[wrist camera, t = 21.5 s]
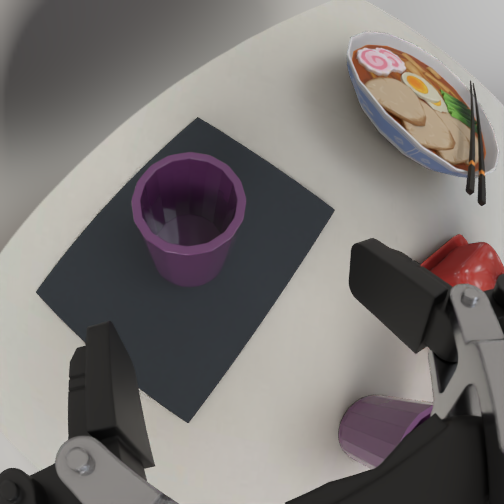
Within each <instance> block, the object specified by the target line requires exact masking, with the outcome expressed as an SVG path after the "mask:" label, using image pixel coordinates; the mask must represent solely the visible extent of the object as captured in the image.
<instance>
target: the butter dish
mask: <svg viewBox="0 0 504 504" xmlns="http://www.w3.org/2000/svg"><path fill="white" fill-rule="evenodd" d="M420 265H421V267H422V266H423V267H425V268H426V269H428V270H429V271H431V272H432V273H434V274H435V275H436V276H438V277H439V278H441V279H442V280H444V281H445V282H447V283H448V284H449V285H451V286H452V287H453V286H455V285H457V284H471V285H474V286H476V287H478V288H480V289H481V290H482V291H486V290H490V289H494V286H495V284H496V281H497V278H498V276H499V275H501V274H504V266H503V264H502V262H501V260H500V258H499V256H498V255H497V253H496V252H495V250H494V249H493V248H492V247H491V246H490V245H489V244H488V243H485V242H478V243H472V244H468V242H467V241H466V239H465V238H464V237H463V236H462V235H460V234H457V235H456V236H454V237H453V238H451V239H450V240H449V241H448V242H446V243H445V244H444V245H443V246H442V247H441V248H439V249H438V250H437V251H436V252H435V253H433V254H432V255H431V256H430V257H429V258H428V259H426V260H425V261H424V262H423V263H422V264H420Z"/></svg>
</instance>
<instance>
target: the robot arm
mask: <svg viewBox="0 0 504 504" xmlns="http://www.w3.org/2000/svg"><path fill="white" fill-rule="evenodd" d="M349 287H350V290H351V292H352V294H353V296H354V297H355V298H356V299H357V300H358V301H359V302H360V303H361V304H362V305H364V306H365V307H366V308H367V309H368V310H369V311H370V312H371V313H372V314H373V315H374V316H376V317H377V318H378V319H379V320H380V321H381V322H382V323H383V324H384V325H385V326H386V327H387V328H389V329H390V330H391V331H392V332H393V333H394V334H395V335H396V336H397V337H398V338H399V339H400V340H401V341H402V342H404V343H405V344H406V345H407V346H408V347H409V348H410V349H411V350H412V351H413V352H414V353H415V354H416V353H418V352H419V351H421V350H422V349H424V348H425V347H428V348H430V351H429V353H428V360H429V367H430V374H431V381H432V390H433V399H434V401H433V408H432V412H431V416H430V417H429V418H428V419H427V420H426V421H424V422H423V423H422V424H420V425H419V426H418V427H416V428H415V429H414V430H412V431H411V432H410V433H408V434H407V435H406V436H405V437H404V438H403V439H402V441H401V442H400V443H399V444H398V445H397V446H396V447H395V449H394V450H393V451H392V452H391V453H390V454H389V455H388V456H387V457H386V459H385V460H384V461H383V462H382V463H381V464H380V465H379V466H377V467H376V468H374V469H371V470H368V471H365V472H362V473H359V474H356V475H353V476H349V477H346V478H342V479H339V480H335V481H331V482H328V483H326V484H324V485H322V486H320V487H318V488H316V489H314V490H312V491H310V492H308V493H306V494H303V495H301V496H299V497H297V498H294V499H292V500H290V501H287V502H285V504H504V274H501V275H499V276H498V278H497V281H496V284H495V286H494V289H490V290H486V291H482V290H481V289H480V288H478V287H476V286H474V285H471V284H457V285H455V286H453V287H452V286H451V285H449V284H448V283H447V282H445V281H444V280H442V279H441V278H439V277H438V276H436V275H435V274H434V273H432V272H431V271H429V270H428V269H426V268H425V267H423V266H422V267H421V265H420V264H419V263H417V262H416V261H412V259H411V258H410V257H408V256H407V255H405V254H404V253H402V252H400V251H397V250H394V249H391V248H389V247H387V246H386V245H384V244H383V243H381V242H380V241H378V240H376V239H374V238H371V239H368V240H365V241H362V242H359V243H356V244H354V245H353V246H352V249H351V259H350V273H349ZM69 377H70V380H69V391H70V392H68V434H69V436H68V440H67V441H66V442H65V443H64V444H63V445H62V446H61V447H60V449H59V451H58V453H57V456H56V461H55V463H54V464H53V465H51V466H49V467H47V468H45V469H43V470H41V471H39V472H37V473H35V474H33V475H30V476H29V475H27V474H26V473H24V472H23V471H22V470H19V469H16V468H9V469H6V470H4V471H3V472H2V473H1V474H0V504H178V503H177V502H175V501H174V500H172V499H171V498H169V497H168V496H166V495H165V494H163V493H162V492H160V491H159V490H158V489H156V488H155V487H154V486H152V485H151V484H149V483H148V482H147V479H146V475H145V471H144V469H145V468H149V467H154V466H155V464H154V460H153V456H152V452H151V448H150V444H149V439H148V435H147V431H146V426H145V421H144V416H143V411H142V406H141V401H140V395H139V390H138V384H137V378H136V372H135V369H134V365H133V363H132V360H131V358H130V356H129V354H128V352H127V350H126V348H125V346H124V344H123V342H122V340H121V338H120V336H119V334H118V332H117V330H116V328H115V326H114V324H113V323H112V322H111V321H107V322H103V323H100V324H96V325H93V326H89V327H87V330H86V346H83V347H79V348H77V349H76V351H75V353H74V355H73V357H72V359H71V361H70V370H69Z"/></svg>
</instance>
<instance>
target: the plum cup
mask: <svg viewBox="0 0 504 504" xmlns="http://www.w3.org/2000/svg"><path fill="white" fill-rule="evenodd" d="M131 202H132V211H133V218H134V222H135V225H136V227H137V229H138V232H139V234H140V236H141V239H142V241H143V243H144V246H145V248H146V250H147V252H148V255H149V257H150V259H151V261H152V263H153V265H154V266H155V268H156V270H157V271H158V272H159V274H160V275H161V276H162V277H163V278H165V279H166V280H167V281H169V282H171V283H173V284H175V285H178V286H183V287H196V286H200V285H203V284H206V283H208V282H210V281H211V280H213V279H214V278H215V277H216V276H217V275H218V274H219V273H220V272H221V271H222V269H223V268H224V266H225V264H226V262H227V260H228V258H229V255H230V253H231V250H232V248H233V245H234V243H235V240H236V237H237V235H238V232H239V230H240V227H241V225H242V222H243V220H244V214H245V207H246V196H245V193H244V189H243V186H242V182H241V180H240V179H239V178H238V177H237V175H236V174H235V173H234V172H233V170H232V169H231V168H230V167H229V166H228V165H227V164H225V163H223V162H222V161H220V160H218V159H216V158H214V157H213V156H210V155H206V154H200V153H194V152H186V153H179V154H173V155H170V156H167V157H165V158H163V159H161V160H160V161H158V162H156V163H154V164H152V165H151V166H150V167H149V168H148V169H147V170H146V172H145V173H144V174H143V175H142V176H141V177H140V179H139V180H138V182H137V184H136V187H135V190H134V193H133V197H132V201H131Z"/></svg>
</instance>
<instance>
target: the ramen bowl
mask: <svg viewBox="0 0 504 504" xmlns="http://www.w3.org/2000/svg"><path fill="white" fill-rule="evenodd" d="M347 66H348V70H349V74H350V78H351V81H352V84H353V86H354V89H355V92H356V94H357V97H358V100H359V103H360V106H361V108H362V110H363V111H364V112H365V114H366V115H367V116H368V118H369V119H370V120H371V122H372V123H373V124H374V126H375V127H376V129H377V130H378V131H379V133H381V134H382V135H383V136H384V137H385V138H386V139H387V140H388V141H389V142H390V143H392V144H393V145H394V146H395V147H396V148H397V149H398V150H399V151H400V152H401V153H402V154H403V155H405V156H407V157H408V158H410V159H412V160H414V161H415V162H417V163H419V164H420V165H422V166H424V167H425V168H427V169H430V170H433V171H437V172H442V173H446V174H450V175H454V176H458V177H466V178H467V185H466V192H467V193H468V194H469V195H471V194H472V193H474V185H475V178H478V203H479V204H480V205H481V206H483V205H484V204H486V188H485V176H486V175H487V174H489V173H491V172H493V171H494V170H496V166H497V161H498V157H499V149H498V145H497V141H496V137H495V133H494V129H493V127H492V125H491V123H490V121H489V119H488V117H487V115H486V113H485V112H484V110H483V108H482V106H481V104H480V103H479V102H478V100H477V98H476V93H475V88H474V83H473V90H474V95H473V94H472V85H471V81H470V90H469V89H468V88H467V86H466V85H465V84H464V83H463V82H462V80H461V79H460V78H458V77H457V76H456V75H455V74H454V73H453V72H452V71H451V70H450V69H449V68H448V67H447V66H445V65H444V64H443V63H442V62H441V61H440V60H439V59H437V58H436V57H434V56H432V55H431V54H429V53H428V52H426V51H425V50H423V49H422V48H420V47H418V46H417V45H415V44H413V43H411V42H409V41H406V40H404V39H401V38H399V37H396V36H394V35H391V34H388V33H381V32H372V31H365V32H362V33H359V34H357V35H354V36H352V37H350V41H349V46H348V50H347Z"/></svg>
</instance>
